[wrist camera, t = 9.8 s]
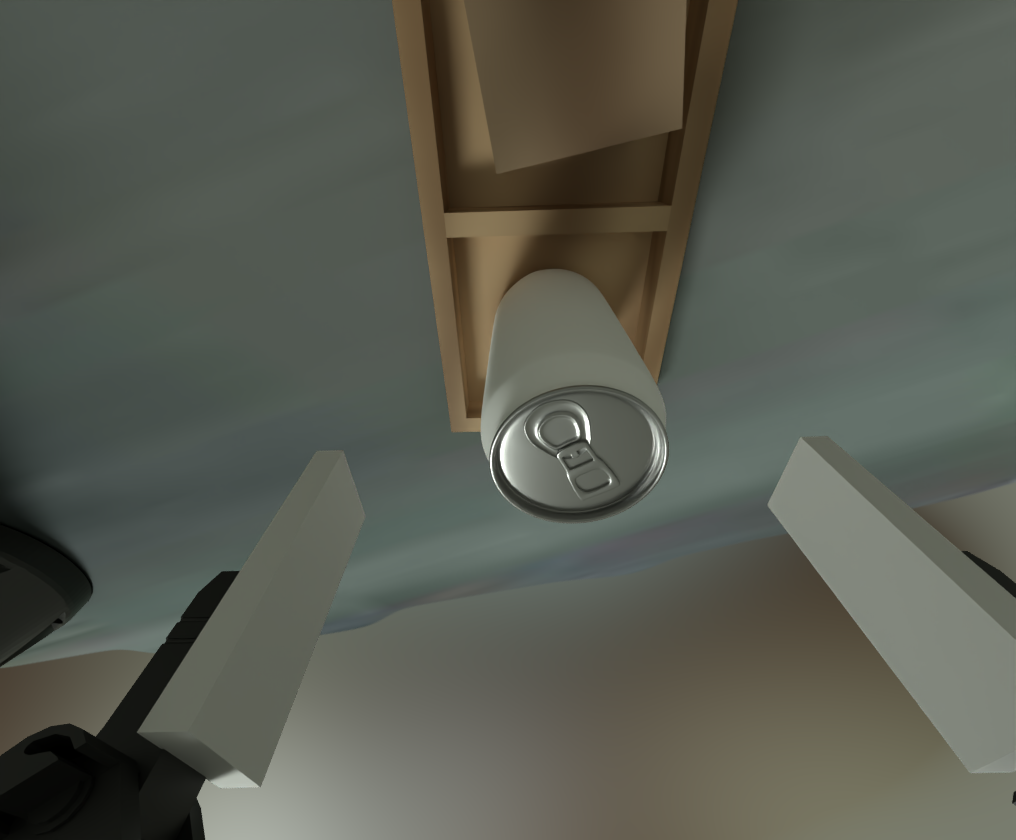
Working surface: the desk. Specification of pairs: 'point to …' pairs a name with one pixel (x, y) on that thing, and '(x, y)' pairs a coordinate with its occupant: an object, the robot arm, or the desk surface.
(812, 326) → the desk surface
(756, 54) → the desk surface
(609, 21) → the walnut block
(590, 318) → the can
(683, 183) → the caddy
